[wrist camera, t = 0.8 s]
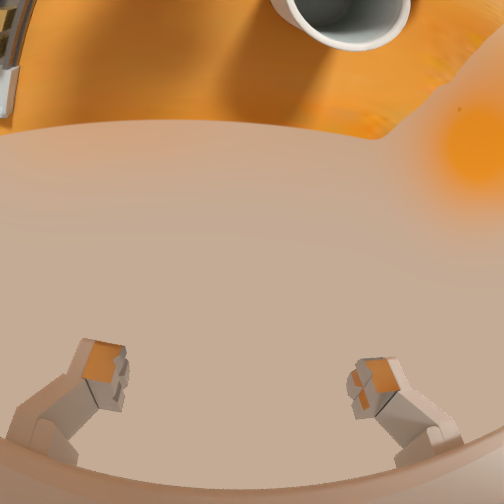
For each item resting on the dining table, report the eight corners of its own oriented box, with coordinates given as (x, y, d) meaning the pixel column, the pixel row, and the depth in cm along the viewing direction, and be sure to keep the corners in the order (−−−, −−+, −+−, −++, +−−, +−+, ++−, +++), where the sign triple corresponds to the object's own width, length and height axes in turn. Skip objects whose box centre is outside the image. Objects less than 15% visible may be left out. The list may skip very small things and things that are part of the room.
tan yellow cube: (3, 6, 23) (-8, 9, 21) (18, 7, 25) (7, 10, 22) (-3, 26, 25) (-14, 30, 23) (12, 27, 27) (1, 31, 25)
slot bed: (4, -22, 19) (-5, -20, 17) (44, -21, 23) (35, -20, 21) (-17, 60, 29) (-26, 64, 27) (18, 65, 34) (9, 70, 32)
